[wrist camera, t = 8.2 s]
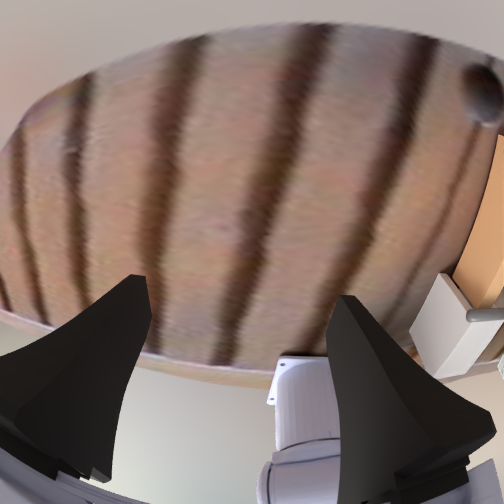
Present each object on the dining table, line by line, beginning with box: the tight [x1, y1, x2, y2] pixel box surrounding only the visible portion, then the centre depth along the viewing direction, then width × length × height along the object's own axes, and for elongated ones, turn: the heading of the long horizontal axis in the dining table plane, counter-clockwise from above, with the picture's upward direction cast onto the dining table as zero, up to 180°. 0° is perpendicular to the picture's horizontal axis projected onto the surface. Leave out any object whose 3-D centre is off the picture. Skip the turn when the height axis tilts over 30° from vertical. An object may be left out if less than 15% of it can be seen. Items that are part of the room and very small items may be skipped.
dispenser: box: [409, 273, 504, 379], centre depth 19 cm, size 8×5×6 cm
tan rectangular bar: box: [452, 135, 504, 309], centre depth 15 cm, size 13×2×4 cm, turn 175°
